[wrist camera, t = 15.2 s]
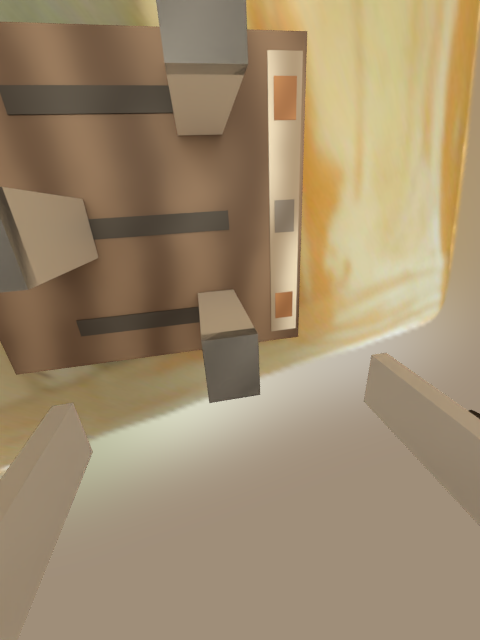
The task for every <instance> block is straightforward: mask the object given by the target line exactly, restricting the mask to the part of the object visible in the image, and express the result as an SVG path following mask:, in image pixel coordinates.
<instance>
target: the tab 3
mask: <svg viewBox="0 0 480 640" xmlns="http://www.w3.org/2000/svg"><path fill="white" fill-rule="evenodd" d="M198 302H199V316H200V330H201V343H202V350H203V358H204V365H205V373H206V380H207V388H208V395H209V402H210V403H212V402H218V401H224V400H230V399H236V398H243V397H248V396H254V395H260V377H259V349H258V333H257V331H256V329H255V328H254V326H253V324H252V322H251V320H250V319H249V317H248V315H247V313H246V311H245V310H244V308H243V306H242V304H241V302H240V301H239V299H238V297H237V295H236V293H235V292H234V290H233V289H232V290H223V291H213V292H204V293H198Z"/></svg>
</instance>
